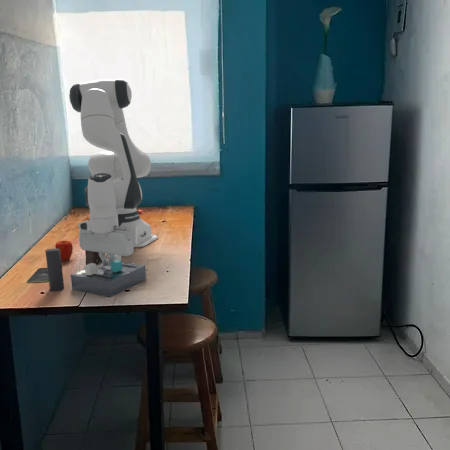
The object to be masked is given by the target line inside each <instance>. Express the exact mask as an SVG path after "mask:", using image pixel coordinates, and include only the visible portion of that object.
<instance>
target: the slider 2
mask: <svg viewBox="0 0 450 450" xmlns="http://www.w3.org/2000/svg"><path fill="white" fill-rule="evenodd" d="M116 260H119V261H122V256H120V255H115V257H114V259H113V261H116Z"/></svg>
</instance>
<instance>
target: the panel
mask: <svg viewBox="0 0 450 450" xmlns="http://www.w3.org/2000/svg"><path fill="white" fill-rule="evenodd" d="M96 269H97V273H95V274H93V275H85V268H84V269H82V270H78V271H76V272H74V273H72V274H70V280H71V283H70V284H71V290H73V291H79V292H82V293H83V292H84V293H87V294H92V295H96V296H97V295H98V296H102V297H107V298H111V297H113V296H115V295H117V294H120V293H122V292H124V291H126V290H128V289H130V288H132V287H134V286H137V285H138V284H140V283H142V282H144V281H147V271H146V269H147V268H146V265H145V264H138V263H133V262H128V261H127V262H126V261H122V270H120V271H118V272H111V266H104V265H103V264H102V263H99V264H97V265H96Z"/></svg>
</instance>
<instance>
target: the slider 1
mask: <svg viewBox="0 0 450 450" xmlns="http://www.w3.org/2000/svg"><path fill="white" fill-rule="evenodd" d="M84 269H85V275H93V274H95V273H97V269H96V264H94V263H90V264H88V265H86V264H85V265H84Z"/></svg>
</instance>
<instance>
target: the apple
mask: <svg viewBox="0 0 450 450" xmlns="http://www.w3.org/2000/svg"><path fill="white" fill-rule="evenodd" d="M55 248H57V249H60V255H61V262H66V261H69V260H70V259H71V257H72V254H73V243H72V241H70V240H59V241H57V242H56V243H55Z"/></svg>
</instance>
